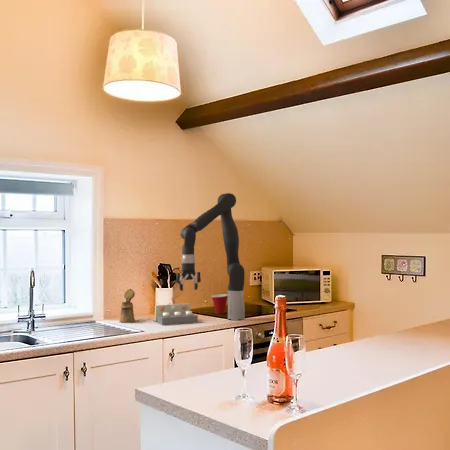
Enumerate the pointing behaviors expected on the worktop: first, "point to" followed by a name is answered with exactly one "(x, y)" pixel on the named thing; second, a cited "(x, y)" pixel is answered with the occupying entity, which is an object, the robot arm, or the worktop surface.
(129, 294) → the brown tapered piece
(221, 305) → the plastic cup
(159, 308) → the pattern card
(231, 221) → the robot arm
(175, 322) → the button board
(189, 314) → the button
